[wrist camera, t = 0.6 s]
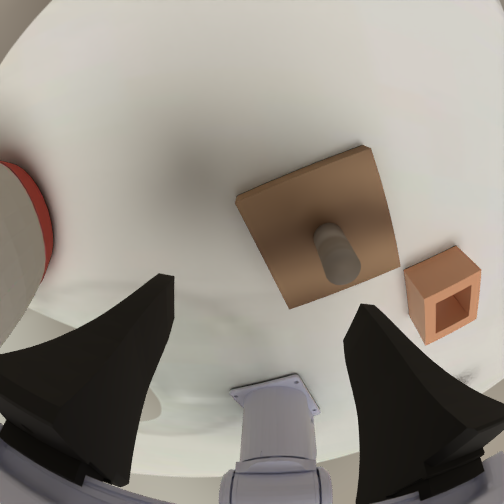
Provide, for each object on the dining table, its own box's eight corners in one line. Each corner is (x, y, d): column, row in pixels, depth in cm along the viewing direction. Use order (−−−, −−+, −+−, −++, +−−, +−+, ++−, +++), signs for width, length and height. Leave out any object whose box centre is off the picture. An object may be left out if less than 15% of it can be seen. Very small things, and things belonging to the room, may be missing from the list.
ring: (456, 293, 22) (476, 318, 18) (409, 316, 23) (425, 345, 19) (456, 245, 19) (481, 269, 16) (403, 270, 20) (424, 299, 17)
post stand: (393, 256, 20) (423, 298, 15) (287, 297, 22) (293, 348, 17) (362, 145, 16) (399, 160, 11) (237, 195, 18) (227, 229, 13)
